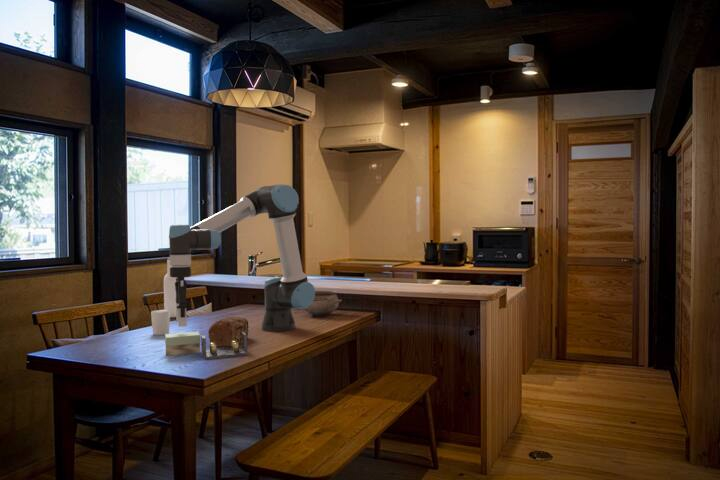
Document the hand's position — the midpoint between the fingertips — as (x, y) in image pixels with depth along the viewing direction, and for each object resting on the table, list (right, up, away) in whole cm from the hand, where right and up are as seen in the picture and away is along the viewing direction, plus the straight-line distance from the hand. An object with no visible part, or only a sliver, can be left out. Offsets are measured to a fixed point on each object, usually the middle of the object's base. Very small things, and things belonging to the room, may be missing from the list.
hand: (181, 323), depth 215 cm
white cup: (-22, -11, +41) cm, 48 cm away
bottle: (-32, -9, +90) cm, 96 cm away
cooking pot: (+46, -8, +82) cm, 95 cm away
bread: (+13, -11, +20) cm, 26 cm away
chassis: (+17, -11, -2) cm, 20 cm away
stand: (0, -11, +1) cm, 11 cm away
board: (0, -7, 0) cm, 7 cm away
